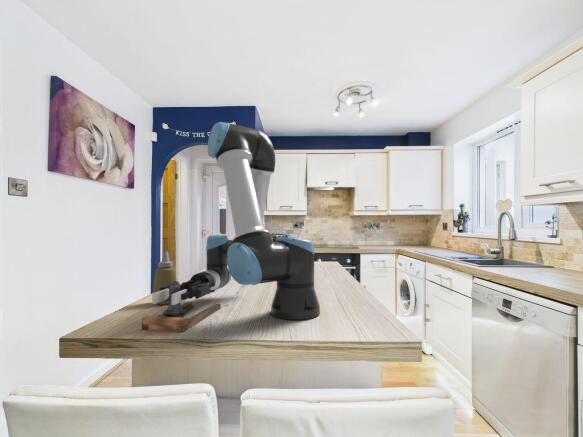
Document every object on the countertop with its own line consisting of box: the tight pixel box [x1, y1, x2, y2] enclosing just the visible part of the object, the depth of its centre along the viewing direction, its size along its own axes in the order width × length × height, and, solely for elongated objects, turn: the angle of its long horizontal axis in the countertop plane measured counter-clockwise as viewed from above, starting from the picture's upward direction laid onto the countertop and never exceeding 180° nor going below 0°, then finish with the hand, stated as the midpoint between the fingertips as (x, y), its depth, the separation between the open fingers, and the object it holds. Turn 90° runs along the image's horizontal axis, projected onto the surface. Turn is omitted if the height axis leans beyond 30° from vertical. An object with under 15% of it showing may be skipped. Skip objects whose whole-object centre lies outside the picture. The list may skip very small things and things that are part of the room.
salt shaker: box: [162, 280, 187, 318], centre depth 83 cm, size 6×6×12 cm
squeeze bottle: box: [152, 251, 178, 306], centre depth 106 cm, size 8×8×18 cm
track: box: [141, 301, 222, 333], centre depth 89 cm, size 12×23×3 cm, turn 170°
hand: (163, 299), depth 78 cm, fingers open, 5 cm apart
